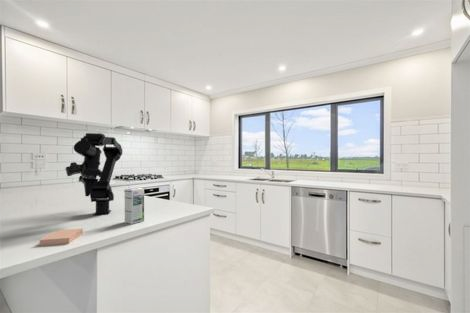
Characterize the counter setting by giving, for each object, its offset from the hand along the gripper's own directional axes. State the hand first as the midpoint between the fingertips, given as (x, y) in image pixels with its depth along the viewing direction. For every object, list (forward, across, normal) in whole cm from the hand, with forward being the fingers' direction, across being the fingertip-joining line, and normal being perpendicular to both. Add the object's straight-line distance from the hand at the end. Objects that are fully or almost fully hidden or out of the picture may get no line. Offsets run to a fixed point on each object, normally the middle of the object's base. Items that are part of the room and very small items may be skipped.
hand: (87, 196), depth 88 cm
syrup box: (+12, +7, +18) cm, 22 cm away
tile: (+14, +8, -4) cm, 17 cm away
